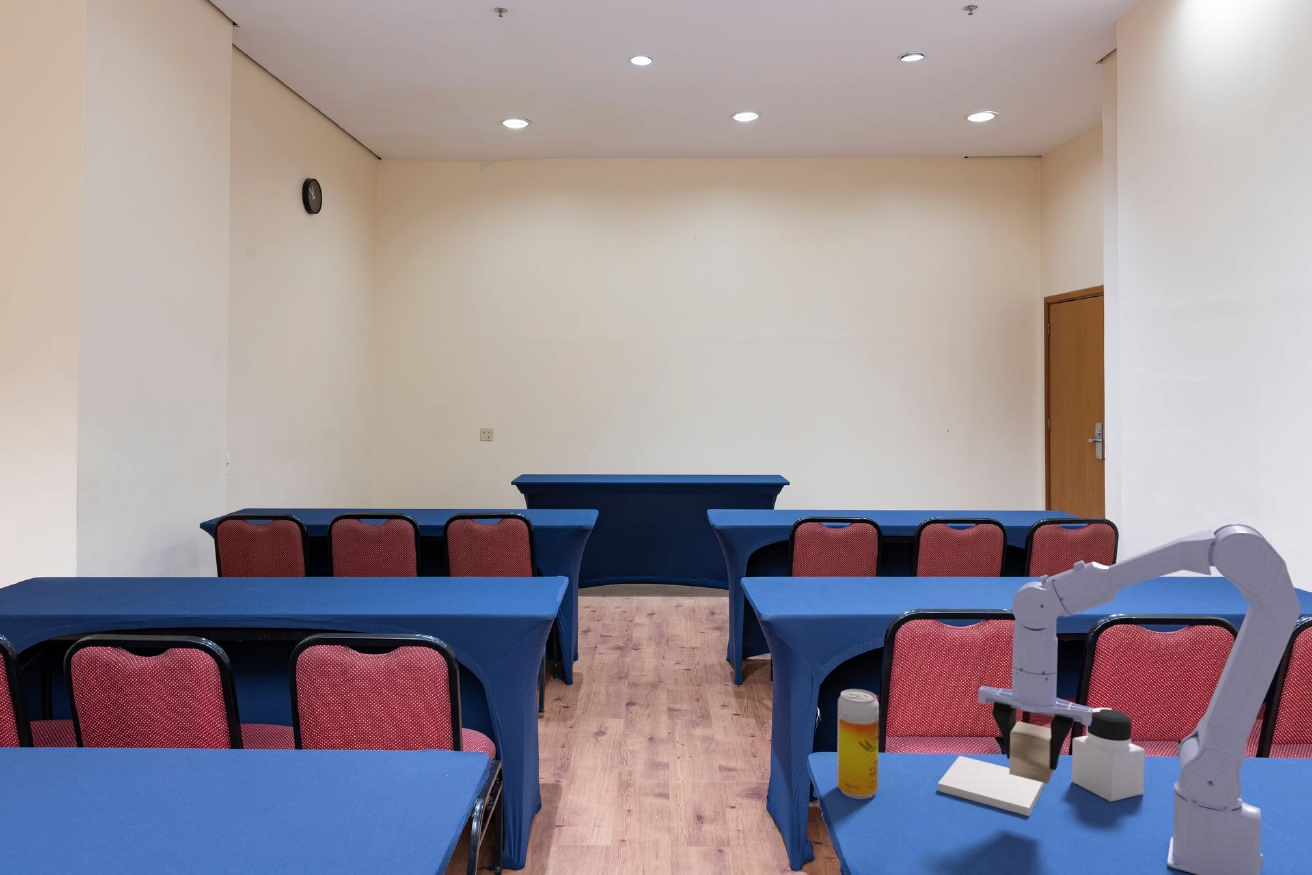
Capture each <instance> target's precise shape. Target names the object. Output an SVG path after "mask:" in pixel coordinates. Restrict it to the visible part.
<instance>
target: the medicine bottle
mask: <svg viewBox="0 0 1312 875" xmlns="http://www.w3.org/2000/svg"><path fill="white" fill-rule="evenodd" d="M1132 721H1133V720H1132V719H1131V718H1130V716H1129V715H1128V714H1126V713H1124V712H1122V711H1120V710H1117V709H1113V708H1111V707H1096V708H1092V722H1091V724H1090V726H1088V725H1086V730H1085V731H1086V732H1085V733H1086V735H1084V736H1083V735H1082V736H1078V737H1077V736H1076V737H1073V738H1072V755H1071V756H1072V758H1071V782H1072V783H1073V782H1074V783H1073V784H1076V785H1077V784H1078V786H1079V787H1081V788H1082V789H1085V790H1086V791H1089V792H1091V793H1092V794H1095V795H1097V796H1098V797H1101V798H1103V799H1105V800H1106V801H1108V802H1116V801H1120V800H1123V799H1124V800H1125V799H1128V798H1132V797H1136V796H1140V795H1143V794H1144V793H1145V791H1144V790H1145V789H1144V788H1145V785H1144V784H1145V757H1146V755H1145V753H1146V751H1145V749H1144V748H1143V747H1141V746H1139V745H1137V744H1133V743H1132Z"/></svg>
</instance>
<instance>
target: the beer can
mask: <svg viewBox="0 0 1312 875" xmlns="http://www.w3.org/2000/svg"><path fill="white" fill-rule="evenodd" d="M879 708H880V703H879V702H878V699H877V695H876V694H875V693H873V692H871V691H869V690H865V689H861V688H860V689H858V688H849V689H845V690H843V691H841V692H840V695H839V697H838V699H837V742H836V743H837V744H836V745H837V746H836V747H837V750H836V751H837V752H836V753H837V754H836V759H837V760H836V761H837V762H836V766H837V767H836V770H837V771H836V786H837V787H838V789H839V790H840V792H841V793H842V795H844V796H846V797H848V798H852V799H856V800H867V799H870V798H872V797H873V796H874V795H875V793H876V792H878V788H879V732H880V731H879V729H880V728H879V727H880V726H879V725H880V724H879V723H880V718H879V717H880V716H879V714H880V709H879Z"/></svg>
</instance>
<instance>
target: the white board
mask: <svg viewBox="0 0 1312 875" xmlns="http://www.w3.org/2000/svg"><path fill="white" fill-rule="evenodd" d="M1045 786H1046V783H1043V782H1039V781H1035V780H1031V779H1027V778H1023V777H1019V776H1015V775H1011V774H1009V767H1006V766H1002V765H1000V764H999V765H997V764H995V763H990V762H986V761H983V760H978V759H975V758H970V757H966V756H964V755H963V756H961V755H959V756H958V757H957V758H956V760H955V761H954V762H953V763H952V764H951V765H950V767H949V768H948V770H947V771H946V773H944V775H943V776H942V778H941V779H940V780H939V781H938V782H937V791H938V792H940V793H941V792H942V793H945V794H947V795H948V794H949V795H952V796H956V797H959V798H962V799H965V800H970V801H973V802H977V803H981V804H984V805H989V806H991V807H995V808H998V809H1002V810H1005V811H1008V812H1014V813H1016V814H1020V815H1023V816H1026V817H1030V816H1031V814H1032V812H1033V810H1034V808H1035V806H1036V804H1037V802H1038V799H1039V797H1040V796H1041V793H1042V792H1043V790H1044V788H1045Z"/></svg>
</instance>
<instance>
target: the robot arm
mask: <svg viewBox="0 0 1312 875" xmlns="http://www.w3.org/2000/svg"><path fill="white" fill-rule="evenodd" d="M1283 558H1284V557H1282V556H1281V555H1280V554H1279V553H1278V552H1277V550H1276V549H1275V548H1274V547H1273V546H1272V544H1271V543H1270V542H1268V540H1267V539H1266V538H1265V537H1264V536H1263V535H1262V533H1261V532H1260V531H1258V530H1257V529H1256V528H1254V527H1253V526H1250V525H1248V524H1244V523H1243V524H1242V523H1229V524H1225V525H1222V526H1220V527H1219V528H1217V529H1215V530H1214V531H1213V530H1212V528H1211V529H1207V530H1202V531H1199V532H1195V533H1192V534H1190V535H1186V536H1183V537H1179V538H1177V539H1174V540H1171V541H1169V542H1167V543H1164V544H1162V545H1159V546H1156V547H1154V548H1151V549H1149V550H1147V551H1144V552H1142V553H1139V554H1136V555H1134V556H1131V557H1129V558H1126V559H1124V560H1121V561H1119V562H1116V563H1114V564H1111V565H1104V564H1101V563H1099V562H1096V561H1091V562H1087V563H1085V562H1084V560H1079V561H1077V562H1074V563H1073V568H1071V569H1068V570H1065V571H1063V572H1060V573H1058V574H1055V575H1053V576H1050V577H1049V575H1047V574H1044V575H1042V576H1040V577H1039V582H1038V581H1030V582H1027V583H1025V584H1023V585H1022V586H1021V587H1020V588H1019V589H1018V591H1017V592H1016V594H1015V595H1014V597H1013V599H1012V602H1011V611H1012V614H1013V616H1014V618H1015V620H1014V622H1013V628H1014V632H1013V635H1012V638H1013V639H1012V669H1011V670H1012V674H1011V677H1012V679H1011V689H1010V688H998V687H991V686H990V687H989V686H985V685H981V686H980V688H979V689H978V699H977V700H978V703H979V704H992V705H993V709H992V710H991V712H992V718H993V719H994V721H995V722H996V725H997V727H998V729H999V732H1000V734H1001V737H1002V740H1003V744H1004V747H1005V754H1006V759H1008V760H1010V732H1011V731H1012V729H1013V728H1014V726H1015V725H1016V723H1017V719H1016V718H1017V711H1018V710H1020V711H1023V712H1028V713H1035V714H1040V715H1044V716H1049V717H1053V719H1052V720H1051V722H1050V727H1049V728H1051V755H1050V769H1052V770H1054V771H1056V770H1057V769H1058V768H1057V767H1058V766H1059V765H1058V764H1059V759H1060V755H1061V750H1062V747H1063V745H1064V743H1065V741H1066V739H1067V737H1068V735H1069V733H1070V731H1071V730H1072V729H1073V725H1075V723H1076V722H1079V723H1081V725H1084V726H1087V725H1088V726H1090V724H1091V722H1092V709H1093V707H1089V706H1086V705H1081V704H1077V703H1075V702H1071V701H1068V700H1065V699H1061V698H1059V697H1057V684H1058V683H1057V682H1058V680H1057V678H1058V646H1059V645H1058V643H1059V641H1058V637H1057V619H1058V617H1066V618H1067V617H1071V616H1075V615H1077V614H1079V613H1082V612H1086V611H1089V610H1091V609H1095V608H1099V607H1101V606H1104V605H1106V604H1107V605H1108V604H1110V603H1113V602H1114V601H1115V600H1116V598H1117V595H1118V592H1119V590H1121V589H1123V588H1127V587H1130V586H1133V585H1137V584H1140V583H1143V582H1146V581H1150V580H1153V579H1157V578H1160V577H1164V576H1167V575H1170V574H1173V573H1177V572H1180V571H1188V572H1192V573H1196V574H1201V575H1207V576H1212V571H1211V567H1215V569H1216V570H1217V572H1218V573H1219V574H1220V575H1221V576H1222V577H1223V578H1225V579H1226V580H1227V581H1228V582H1230V583H1231V584H1232V585H1234V586H1235V587H1236V588H1237V589H1238V590H1239V592H1240V594H1241V595H1242V596H1243V598H1244V600H1245V601H1246V603H1247V604H1248V609H1247V612H1246V614H1245V616H1244V619H1243V621H1242V624H1241V626H1240V628H1239V631H1238V633H1237V636H1236V638H1235V641H1234V643H1233V646H1232V648H1231V650H1230V653H1229V655H1228V658H1227V660H1226V663H1225V665H1224V667H1223V670H1222V672H1221V675H1220V677H1219V679H1218V682H1217V685H1216V687H1215V690H1214V691H1213V695H1212V697H1211V699H1210V700H1209V701H1210V702H1209V703H1208V706H1207V709H1206V710H1205V714H1204V715H1203V716H1202V717H1201V718H1200V719H1199V721H1198V723H1197V725H1196V727H1195V729H1194V730H1193V731H1192V732H1191V733H1190V734H1189V735H1187V736H1186V737H1184V738H1183V739H1182V740H1181V742H1180V743H1179V745H1178V750H1177V755H1178V760H1179V762H1180V764H1179V765H1180V776H1179V778H1180V779H1179V780H1177V781H1176V782H1175V783H1174V789H1173V794H1174V795H1173V819H1172V821H1173V825H1172V826H1173V827H1172V837H1170V841H1169V847H1168V854H1167V861H1166V865H1167V866H1168V867H1170V868H1173V869H1176V870H1181V871H1184V872H1188V873H1190V874H1194V875H1260V871H1261V870H1263V868H1264V867H1263V866H1264V854H1263V853H1261V849H1262V848H1261V846H1262V845H1261V843H1262V810H1261V808H1259V807H1257V806H1254V805H1252V804H1249V803H1246V802H1244V801H1243V799H1242V796H1241V794H1242V789H1243V788H1242V782H1241V776H1240V774H1241V768H1242V766H1243V763H1244V760H1245V755H1246V748H1247V742H1248V738H1249V735H1250V733H1251V731H1252V728H1253V727H1254V723H1255V721H1256V718H1257V716H1258V714H1259V712H1260V710H1261V708H1262V706H1263V702H1264V700H1265V698H1266V695H1267V693H1268V690H1269V688H1270V686H1271V683H1272V681H1273V679H1274V676H1275V674H1276V672H1277V670H1278V666H1279V665H1280V662H1281V659H1282V657H1283V655H1284V653H1285V651H1286V648H1287V645H1288V643H1289V641H1290V639H1291V636H1292V634H1293V632H1294V629H1295V627H1296V624H1297V622H1298V620H1299V618H1300V615H1301V609H1302V608H1301V604H1300V601H1299V598H1298V595H1297V593H1296V590H1295V586H1294V584H1293V581H1292V580H1291V576H1290V574H1289V570H1288V567H1287V564H1286V560H1284V559H1283Z"/></svg>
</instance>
